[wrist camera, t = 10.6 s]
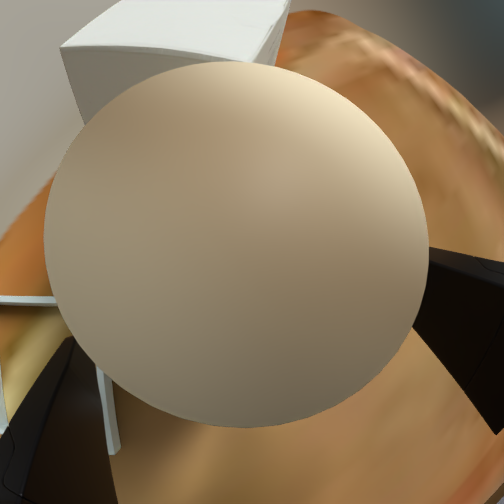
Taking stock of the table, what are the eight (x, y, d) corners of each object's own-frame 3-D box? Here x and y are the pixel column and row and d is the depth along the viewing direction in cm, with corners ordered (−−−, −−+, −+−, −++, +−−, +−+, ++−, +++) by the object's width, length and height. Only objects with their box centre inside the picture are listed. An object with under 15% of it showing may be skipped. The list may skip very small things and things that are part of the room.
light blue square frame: (121, 447, 14) (115, 455, 13) (5, 428, 13) (-6, 431, 11) (107, 300, 17) (100, 296, 16) (-5, 298, 15) (-17, 295, 14)
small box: (171, 135, 21) (167, -30, 9) (253, 155, 21) (298, -12, 9) (125, 228, 18) (53, 46, 6) (221, 256, 18) (257, 64, 6)
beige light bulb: (238, 377, 16) (360, 473, 3) (143, 332, 16) (-16, 288, 3) (279, 285, 18) (440, 154, 5) (189, 242, 18) (180, 33, 5)
